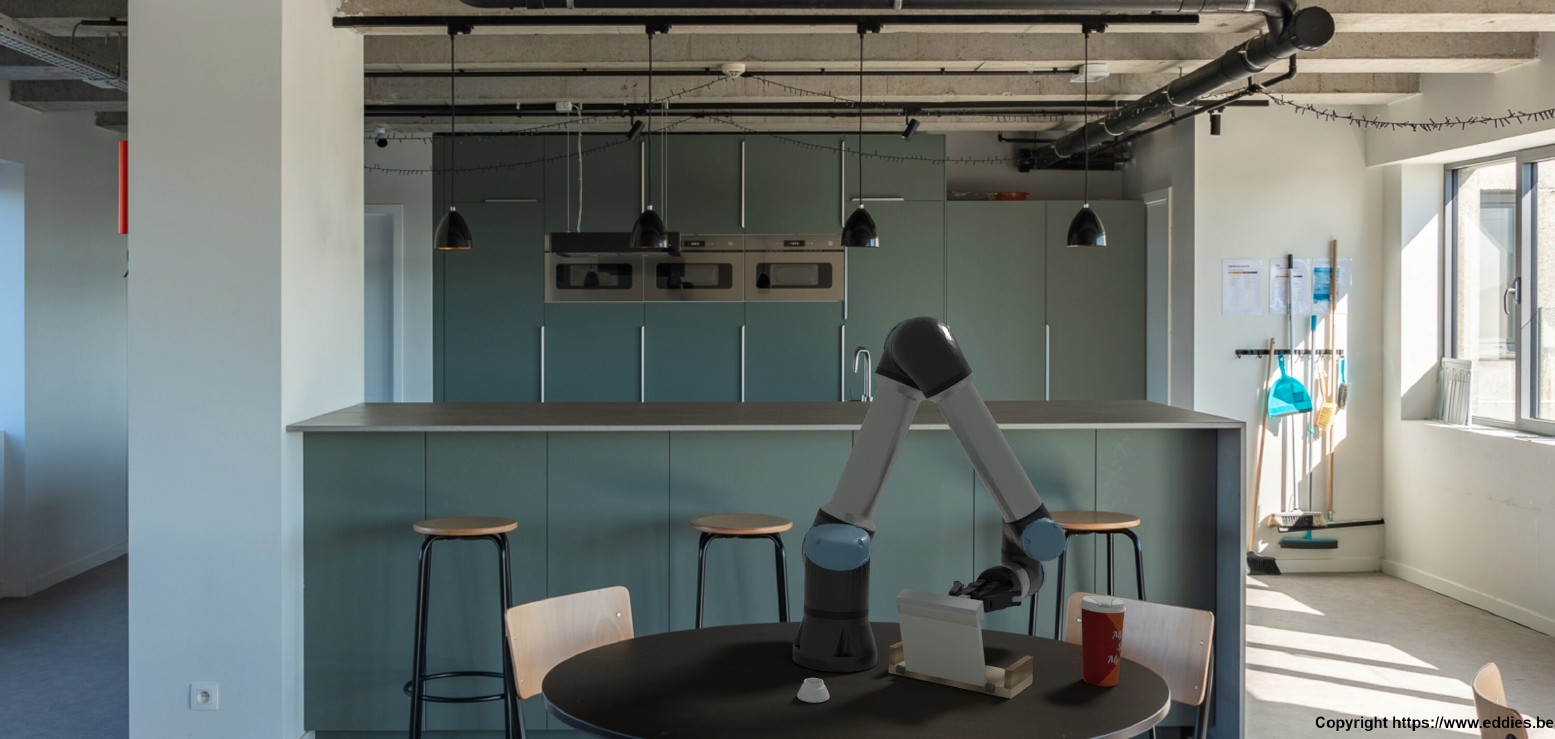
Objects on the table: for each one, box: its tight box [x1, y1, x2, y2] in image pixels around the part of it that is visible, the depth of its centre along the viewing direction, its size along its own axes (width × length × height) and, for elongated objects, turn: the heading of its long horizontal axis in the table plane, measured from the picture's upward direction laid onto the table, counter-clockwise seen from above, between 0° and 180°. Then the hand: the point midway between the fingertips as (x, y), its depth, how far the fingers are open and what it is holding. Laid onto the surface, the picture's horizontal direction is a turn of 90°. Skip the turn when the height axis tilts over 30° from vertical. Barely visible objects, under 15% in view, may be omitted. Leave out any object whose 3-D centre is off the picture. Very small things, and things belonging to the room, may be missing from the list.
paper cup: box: [1078, 595, 1128, 688], centre depth 177 cm, size 8×8×14 cm
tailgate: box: [895, 587, 987, 687], centre depth 170 cm, size 14×3×14 cm, turn 57°
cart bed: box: [888, 640, 1034, 700], centre depth 176 cm, size 22×12×4 cm, turn 57°
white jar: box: [796, 677, 830, 704], centre depth 164 cm, size 5×3×5 cm
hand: (950, 610), depth 170 cm, fingers closed
